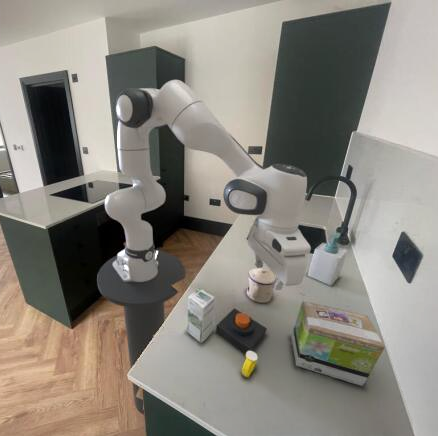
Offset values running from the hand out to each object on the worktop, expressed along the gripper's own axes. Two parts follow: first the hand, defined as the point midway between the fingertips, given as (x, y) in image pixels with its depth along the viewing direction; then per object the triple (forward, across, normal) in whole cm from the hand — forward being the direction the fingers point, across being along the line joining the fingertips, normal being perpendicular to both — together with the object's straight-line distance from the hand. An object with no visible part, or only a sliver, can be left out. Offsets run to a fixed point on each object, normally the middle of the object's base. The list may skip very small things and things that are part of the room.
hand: (266, 276), depth 63 cm
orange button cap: (+17, 0, -5) cm, 17 cm away
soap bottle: (+22, -22, +41) cm, 51 cm away
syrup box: (+22, -2, -17) cm, 28 cm away
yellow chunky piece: (+22, +11, -8) cm, 25 cm away
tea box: (+22, +11, +14) cm, 28 cm away
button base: (+21, 0, -5) cm, 22 cm away
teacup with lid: (+22, -15, +8) cm, 27 cm away
